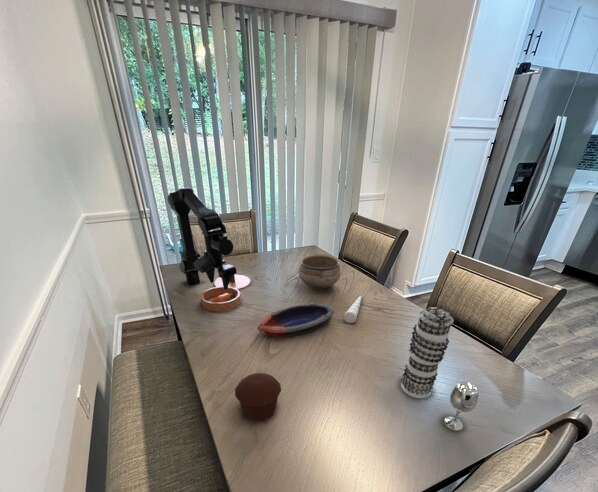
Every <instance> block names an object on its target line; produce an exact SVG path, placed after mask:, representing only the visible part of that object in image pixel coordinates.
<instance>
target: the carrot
mask: <svg viewBox="0 0 598 492" xmlns="http://www.w3.org/2000/svg"><path fill="white" fill-rule="evenodd" d="M231 297H233V294H232V293H231V294H229V293H225V294H220V295H216V296H214V297H212V298H210V299H209V300H208V301H209V302H214V303H221V302H227V301H230V299H231Z"/></svg>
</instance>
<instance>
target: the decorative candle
mask: <svg viewBox="0 0 598 492" xmlns="http://www.w3.org/2000/svg"><path fill="white" fill-rule="evenodd" d="M418 316H419V317H418V322H417V324H415V325H414V326H413V328H412V330H413V331H412V332H411V334H412V336H411V339H410V341H411V342H410V343H409V349H408V354H409V355H408V359H407V362H406V364H404V367H405V368H404V369H403V371H404V373H402V378H401V383H400V384H401V385H400V388H401V390H402V391H403V392H404V393H405V394H407V396H410V397H412V398H416V399H425V398H428V397H429V396H431V393H432V390H433V389H434V386H435V381H436V380H437V376H438V369H439V364H441V363H442V361H443V359H444V356H445V354H446V350H447V349H448V345H449V343H450V340H449V335H450V332H451V327H452V325H453V324H454V323H455V320H454V318H453V316H452V315H451V314H450V312H449V311H447V310H446V309H444V308H442V307H436V306H433V307H428V308H426V309H424V310H422V311H420V312H419V313H418Z"/></svg>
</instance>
